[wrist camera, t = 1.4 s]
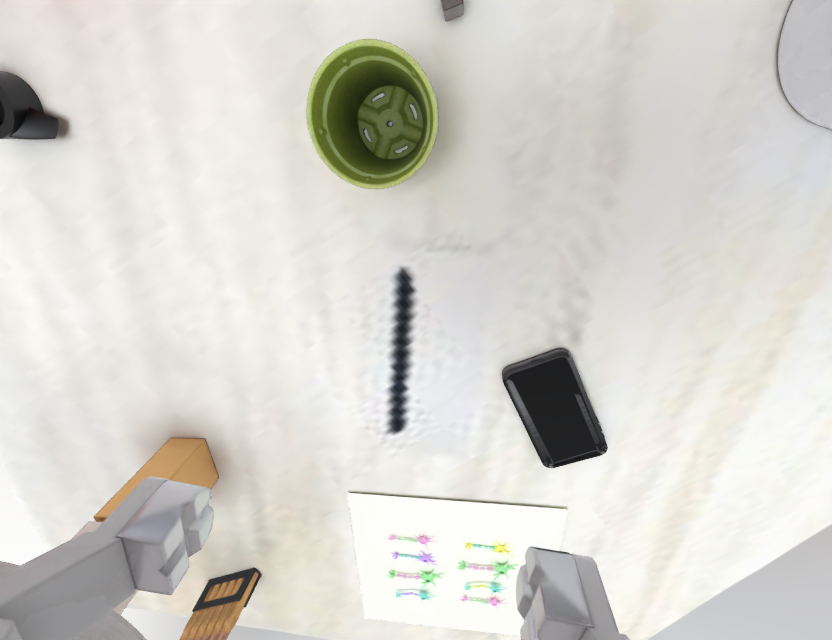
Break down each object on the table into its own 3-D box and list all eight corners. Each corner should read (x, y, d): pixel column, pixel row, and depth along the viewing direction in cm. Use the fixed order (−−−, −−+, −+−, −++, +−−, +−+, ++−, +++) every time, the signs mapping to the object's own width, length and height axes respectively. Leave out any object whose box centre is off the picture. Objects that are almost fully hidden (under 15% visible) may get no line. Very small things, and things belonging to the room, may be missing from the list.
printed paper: (567, 507, 52) (569, 516, 51) (542, 636, 65) (544, 646, 64) (347, 490, 56) (345, 499, 55) (365, 616, 68) (363, 626, 67)
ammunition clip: (255, 567, 66) (214, 651, 55) (262, 574, 67) (222, 659, 56) (209, 579, 69) (161, 662, 58) (215, 586, 70) (169, 668, 59)
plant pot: (413, 38, 33) (397, 7, 25) (460, 148, 36) (459, 151, 28) (321, 98, 35) (281, 86, 28) (372, 195, 38) (349, 210, 31)
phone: (545, 470, 49) (499, 375, 44) (544, 463, 50) (498, 369, 45) (611, 452, 47) (570, 350, 42) (607, 445, 48) (567, 345, 43)
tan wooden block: (287, 518, 60) (-14, 1159, 22) (150, 510, 63) (-317, 1065, 25) (251, 392, 50) (-375, 1138, 13) (92, 391, 53) (-791, 993, 16)
